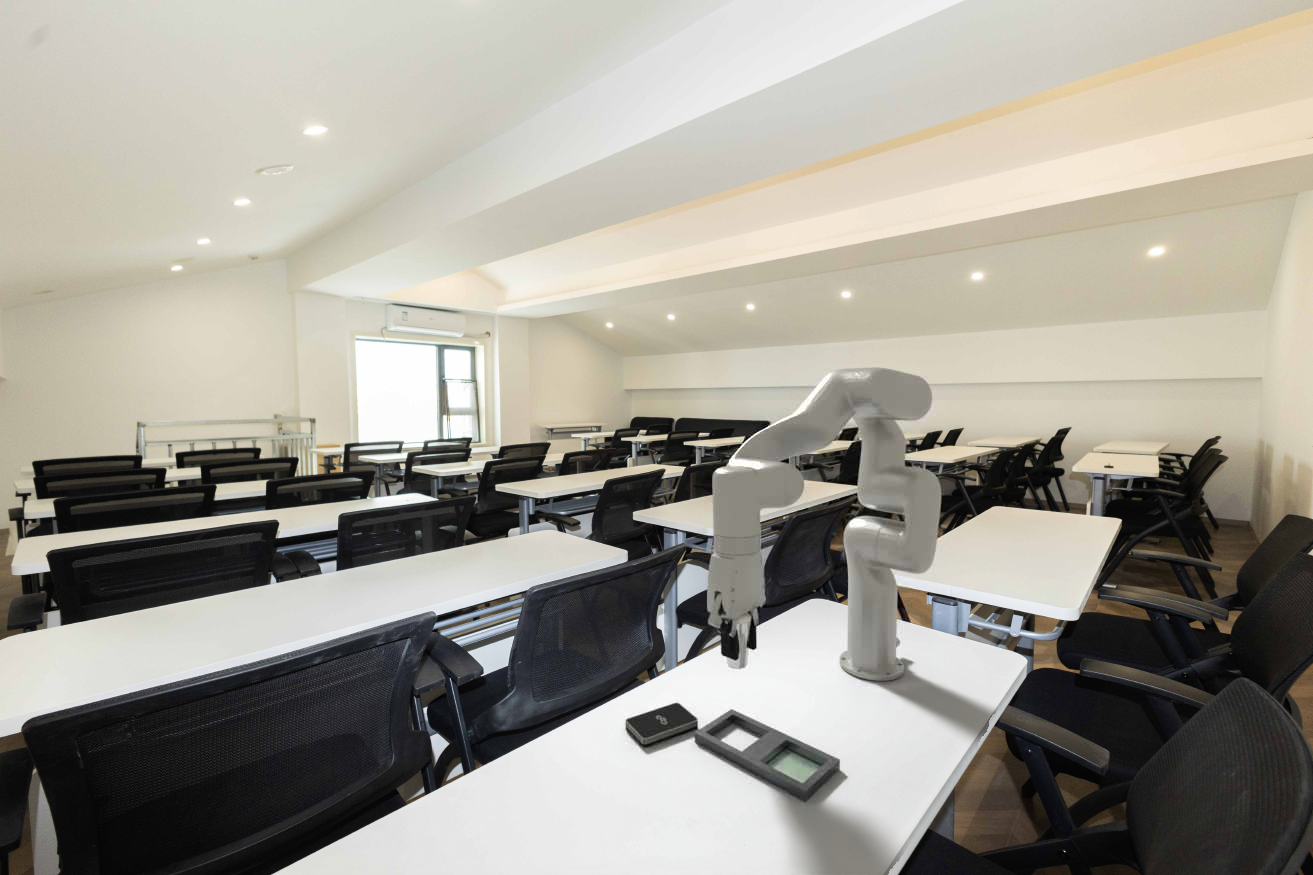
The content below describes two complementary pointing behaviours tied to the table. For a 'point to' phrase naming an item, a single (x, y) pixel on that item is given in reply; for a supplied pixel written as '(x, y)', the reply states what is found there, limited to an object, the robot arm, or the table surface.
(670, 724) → the external hard drive
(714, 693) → the table surface
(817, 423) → the robot arm
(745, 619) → the milkshake
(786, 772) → the two-slot gray tray
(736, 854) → the table surface
